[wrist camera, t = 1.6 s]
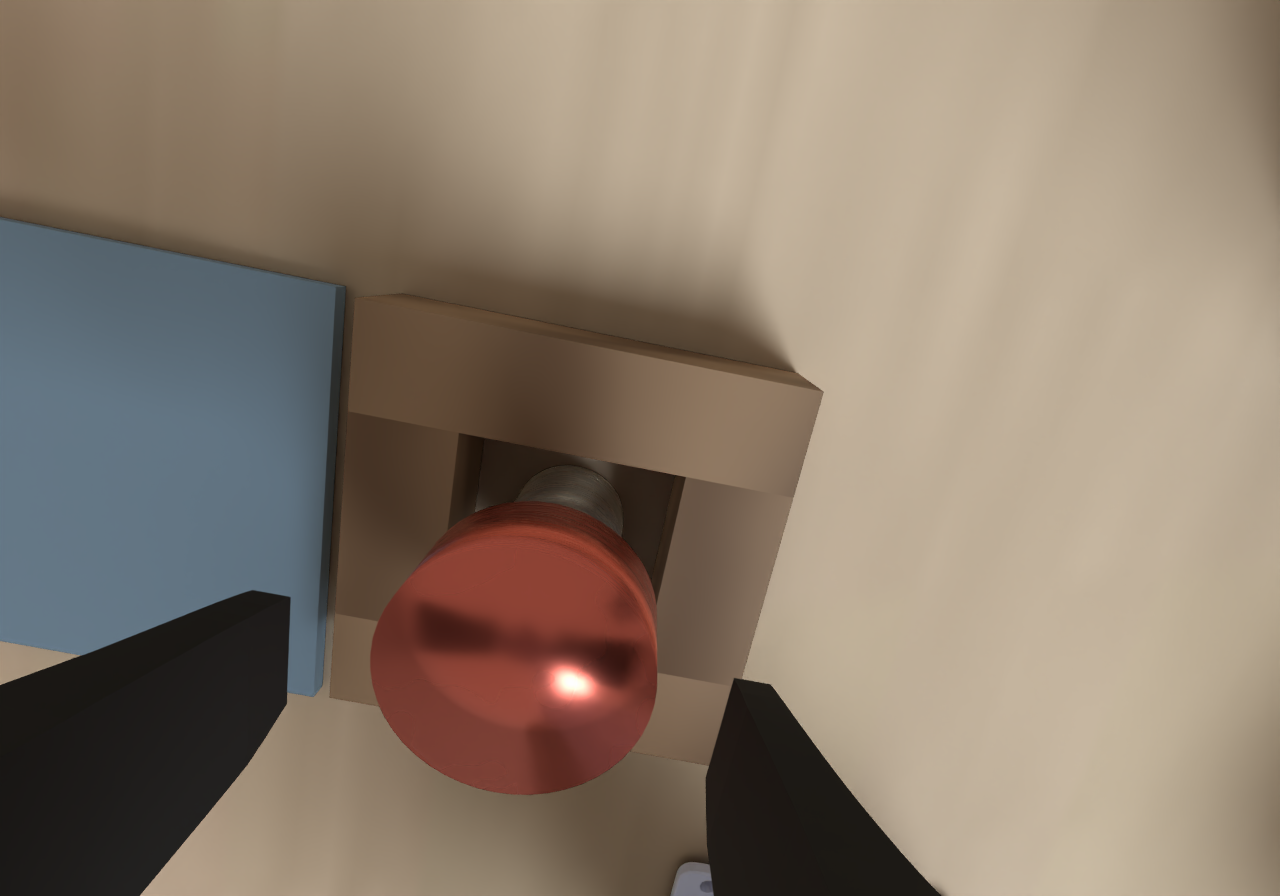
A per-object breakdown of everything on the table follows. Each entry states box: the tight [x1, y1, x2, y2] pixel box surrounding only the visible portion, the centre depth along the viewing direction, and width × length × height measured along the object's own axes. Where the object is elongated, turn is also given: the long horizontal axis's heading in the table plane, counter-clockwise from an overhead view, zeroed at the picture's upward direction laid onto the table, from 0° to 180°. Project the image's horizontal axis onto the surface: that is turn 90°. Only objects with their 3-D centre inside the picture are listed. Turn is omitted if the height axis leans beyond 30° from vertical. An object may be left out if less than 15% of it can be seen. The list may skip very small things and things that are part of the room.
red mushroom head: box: [370, 465, 657, 795], centre depth 14 cm, size 5×5×7 cm
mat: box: [0, 217, 346, 697], centre depth 17 cm, size 10×12×1 cm
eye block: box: [330, 294, 823, 765], centre depth 16 cm, size 10×10×2 cm
